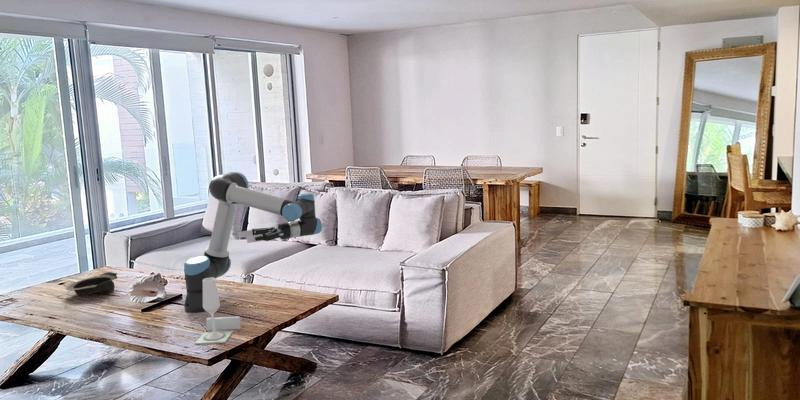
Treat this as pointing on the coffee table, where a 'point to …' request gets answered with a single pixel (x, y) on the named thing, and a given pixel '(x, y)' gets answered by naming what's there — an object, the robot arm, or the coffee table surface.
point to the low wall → (224, 323)
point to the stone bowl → (94, 284)
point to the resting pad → (220, 340)
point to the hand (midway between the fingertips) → (242, 237)
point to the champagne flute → (211, 303)
